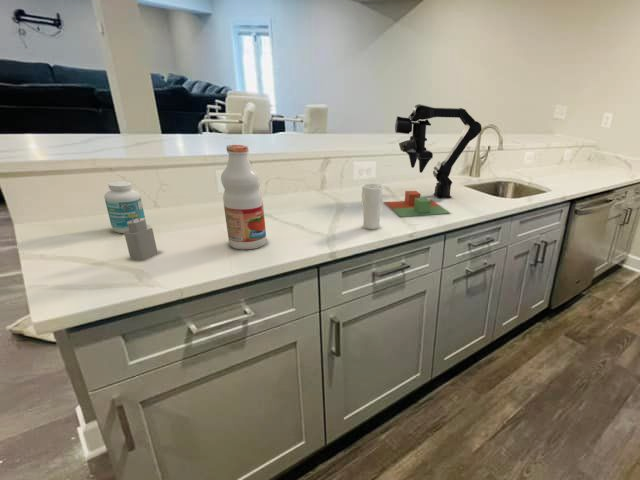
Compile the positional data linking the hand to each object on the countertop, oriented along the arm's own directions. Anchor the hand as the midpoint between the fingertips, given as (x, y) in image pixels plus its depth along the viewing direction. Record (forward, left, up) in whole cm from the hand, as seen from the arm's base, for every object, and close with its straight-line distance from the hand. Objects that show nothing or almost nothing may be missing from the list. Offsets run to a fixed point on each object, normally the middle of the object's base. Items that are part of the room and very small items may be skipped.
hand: (416, 170), depth 174 cm
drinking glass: (+32, +35, -12) cm, 49 cm away
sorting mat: (+7, +18, -12) cm, 23 cm away
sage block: (+7, +23, -12) cm, 27 cm away
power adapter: (+93, +42, -12) cm, 103 cm away
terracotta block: (+7, +13, -12) cm, 19 cm away
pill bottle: (+98, +22, -12) cm, 101 cm away
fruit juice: (+70, +40, -12) cm, 81 cm away
